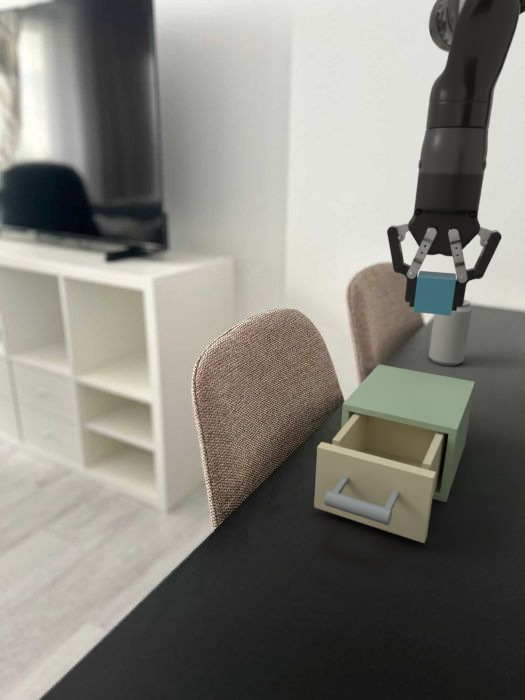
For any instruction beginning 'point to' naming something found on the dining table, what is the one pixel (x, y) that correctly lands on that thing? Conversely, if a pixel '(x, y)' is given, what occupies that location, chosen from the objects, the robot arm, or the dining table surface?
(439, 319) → the beverage can
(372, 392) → the cabinet
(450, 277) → the small sky-blue cube
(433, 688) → the dining table surface
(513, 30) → the robot arm
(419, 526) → the drawer
